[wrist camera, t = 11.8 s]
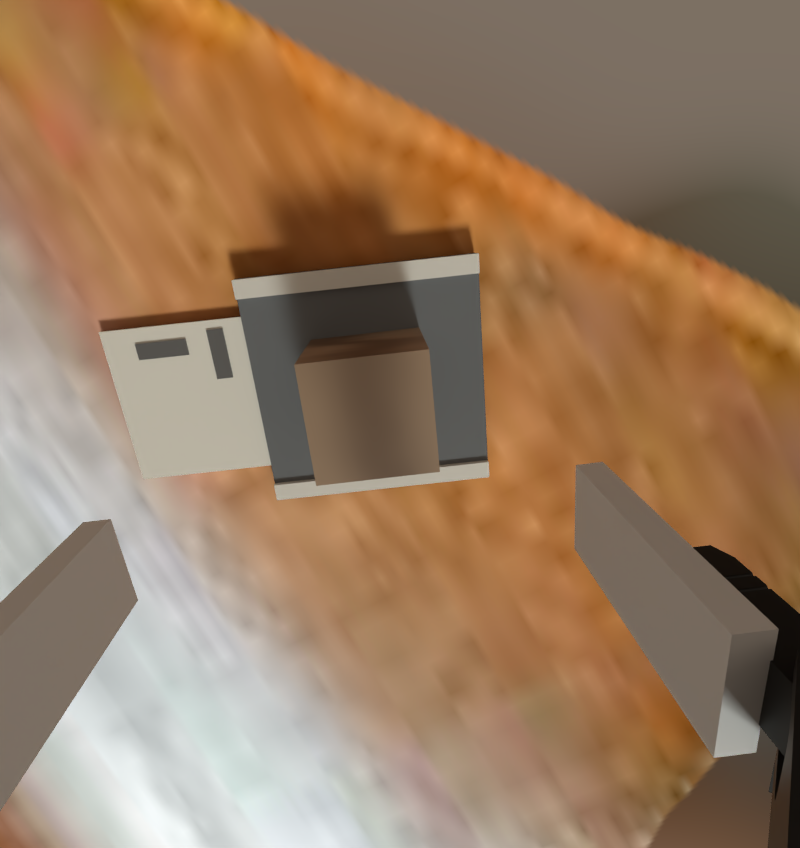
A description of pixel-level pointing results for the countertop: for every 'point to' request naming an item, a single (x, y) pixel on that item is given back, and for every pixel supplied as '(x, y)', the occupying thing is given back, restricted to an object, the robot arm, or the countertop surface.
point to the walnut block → (368, 406)
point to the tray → (359, 314)
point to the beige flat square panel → (188, 396)
